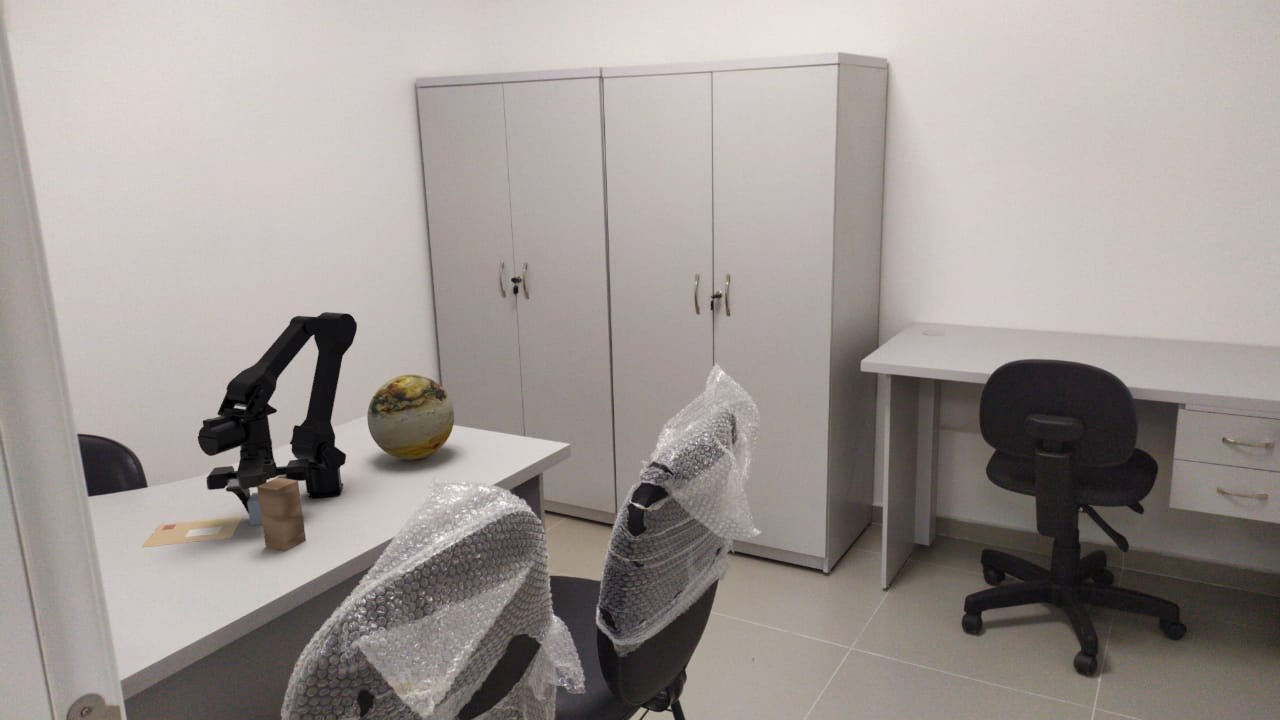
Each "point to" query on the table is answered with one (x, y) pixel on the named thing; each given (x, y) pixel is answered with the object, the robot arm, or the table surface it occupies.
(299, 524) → the walnut block
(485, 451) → the table surface
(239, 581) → the table surface
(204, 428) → the robot arm
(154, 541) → the kraft envelope
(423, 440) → the decorative sphere
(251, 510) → the slate-blue cube
